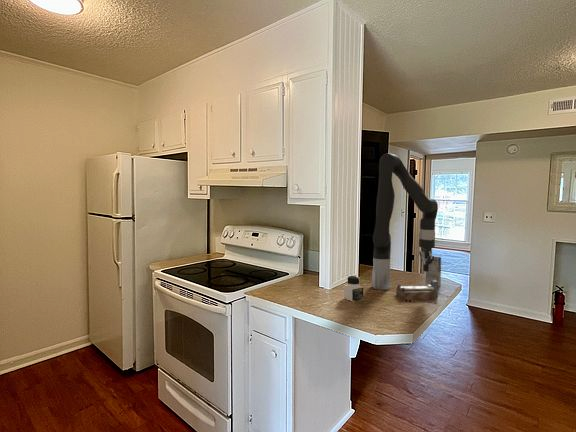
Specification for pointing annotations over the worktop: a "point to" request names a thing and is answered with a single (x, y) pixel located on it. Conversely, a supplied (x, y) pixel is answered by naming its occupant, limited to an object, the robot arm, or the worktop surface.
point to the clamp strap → (417, 287)
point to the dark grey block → (435, 286)
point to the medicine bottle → (353, 289)
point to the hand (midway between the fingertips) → (425, 271)
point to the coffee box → (434, 271)
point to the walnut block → (415, 294)
